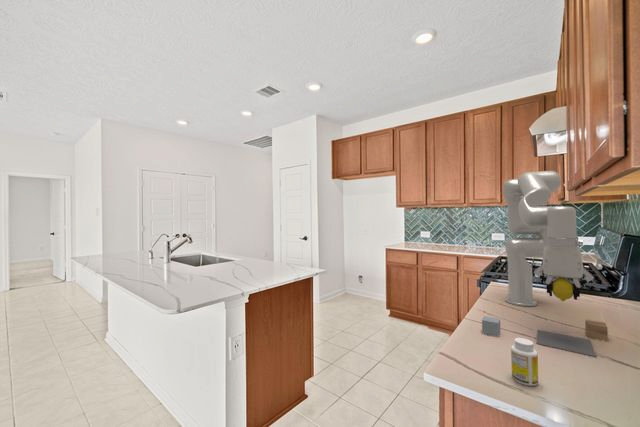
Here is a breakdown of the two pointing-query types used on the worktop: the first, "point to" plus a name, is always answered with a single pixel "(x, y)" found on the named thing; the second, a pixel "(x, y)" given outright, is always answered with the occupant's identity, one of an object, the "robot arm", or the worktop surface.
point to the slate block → (491, 326)
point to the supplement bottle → (524, 362)
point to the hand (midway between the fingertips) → (562, 296)
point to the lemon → (562, 289)
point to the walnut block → (596, 330)
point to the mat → (565, 342)
